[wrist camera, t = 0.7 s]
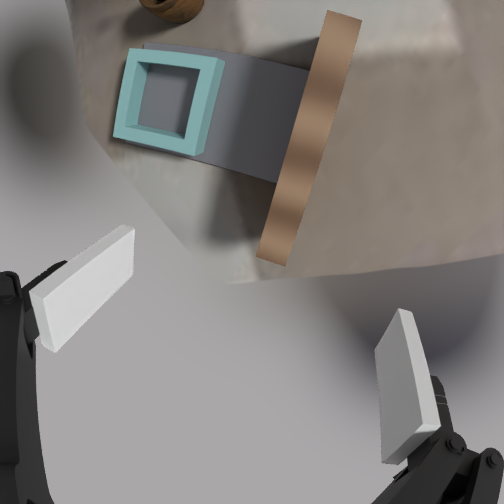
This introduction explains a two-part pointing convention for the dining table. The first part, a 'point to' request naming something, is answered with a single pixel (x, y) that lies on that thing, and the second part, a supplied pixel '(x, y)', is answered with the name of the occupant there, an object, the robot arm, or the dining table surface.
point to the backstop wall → (309, 135)
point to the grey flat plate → (229, 109)
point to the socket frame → (200, 106)
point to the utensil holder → (174, 9)
